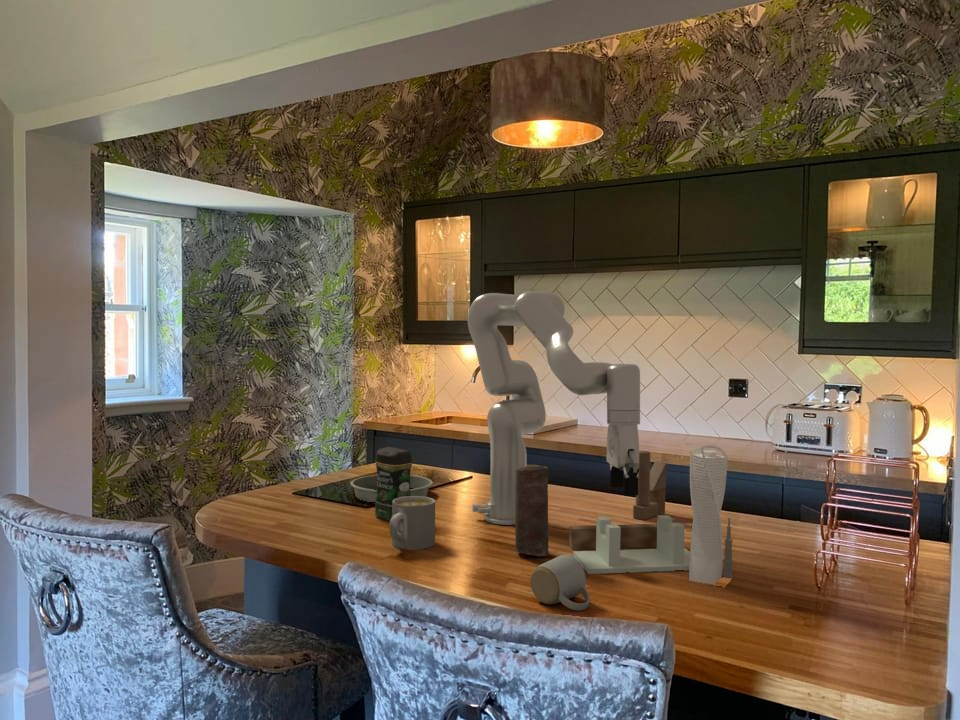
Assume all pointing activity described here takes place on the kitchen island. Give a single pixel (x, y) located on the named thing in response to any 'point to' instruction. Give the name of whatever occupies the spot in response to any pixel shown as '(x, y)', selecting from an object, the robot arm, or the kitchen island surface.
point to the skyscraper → (708, 517)
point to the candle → (532, 510)
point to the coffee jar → (391, 479)
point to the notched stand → (636, 550)
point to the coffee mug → (413, 522)
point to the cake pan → (369, 483)
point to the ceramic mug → (560, 582)
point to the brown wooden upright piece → (650, 488)
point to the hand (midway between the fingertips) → (623, 491)
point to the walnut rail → (628, 537)
